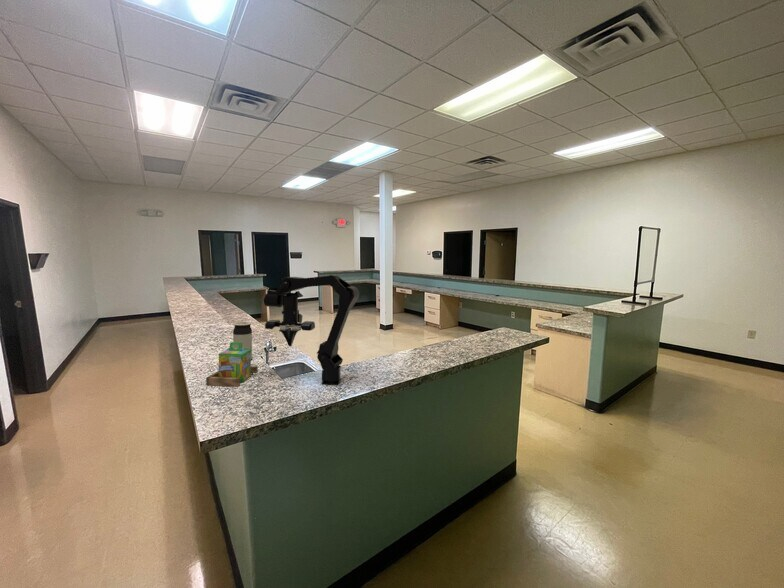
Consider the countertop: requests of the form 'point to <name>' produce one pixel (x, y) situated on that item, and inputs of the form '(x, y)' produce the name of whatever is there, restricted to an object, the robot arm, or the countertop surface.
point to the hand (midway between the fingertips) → (290, 346)
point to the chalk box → (235, 362)
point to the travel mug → (243, 335)
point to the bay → (226, 379)
